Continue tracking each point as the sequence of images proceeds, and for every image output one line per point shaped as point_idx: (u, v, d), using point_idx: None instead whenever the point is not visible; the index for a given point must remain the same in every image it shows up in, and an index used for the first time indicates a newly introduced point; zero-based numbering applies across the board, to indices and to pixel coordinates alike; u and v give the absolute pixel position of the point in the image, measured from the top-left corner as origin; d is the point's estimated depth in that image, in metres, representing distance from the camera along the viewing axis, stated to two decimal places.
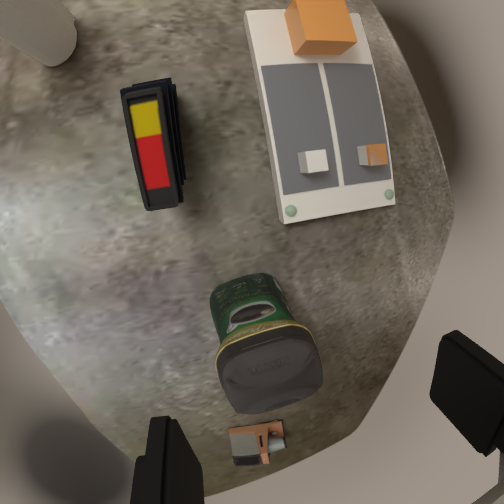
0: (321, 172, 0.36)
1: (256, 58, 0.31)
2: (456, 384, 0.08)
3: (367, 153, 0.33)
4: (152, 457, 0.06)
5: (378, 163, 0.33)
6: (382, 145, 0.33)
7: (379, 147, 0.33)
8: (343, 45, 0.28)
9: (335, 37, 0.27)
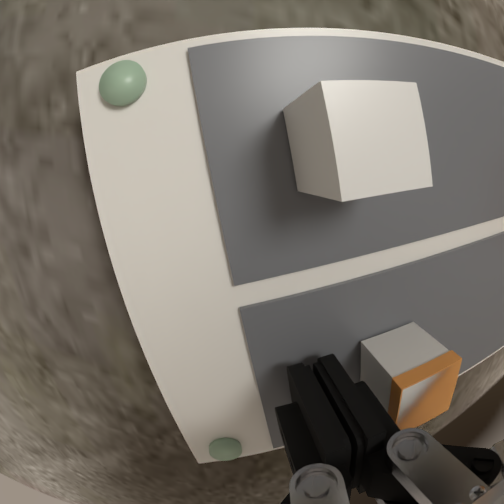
0: (287, 202, 0.09)
1: None
2: None
3: (430, 364, 0.08)
4: (308, 395, 0.08)
5: (402, 411, 0.08)
6: (446, 402, 0.08)
7: (445, 398, 0.08)
8: None
9: None
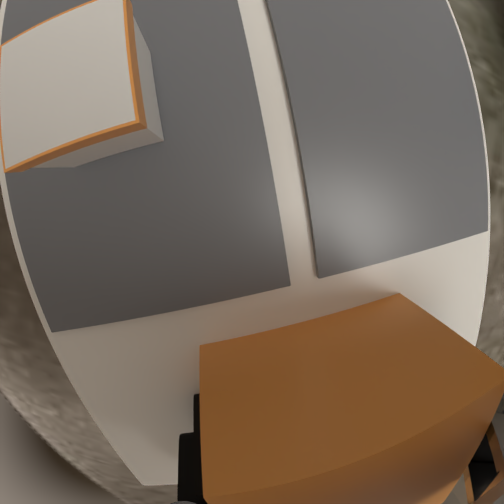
0: None
1: (486, 256, 0.09)
2: None
3: (133, 67, 0.04)
4: None
5: (63, 18, 0.03)
6: (25, 146, 0.04)
7: (40, 132, 0.04)
8: (262, 427, 0.05)
9: (367, 469, 0.04)
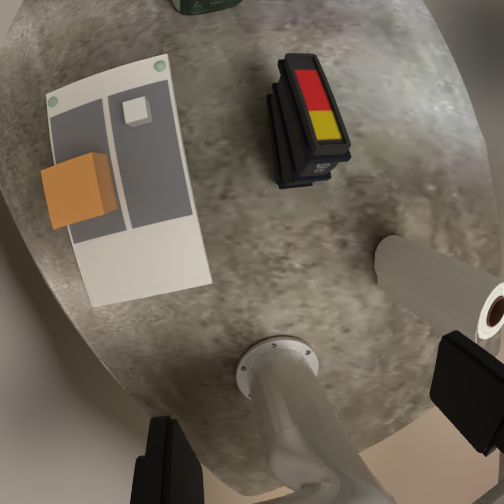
0: None
1: (197, 223, 0.34)
2: (456, 384, 0.08)
3: None
4: (152, 457, 0.06)
5: None
6: None
7: None
8: None
9: (62, 166, 0.26)
